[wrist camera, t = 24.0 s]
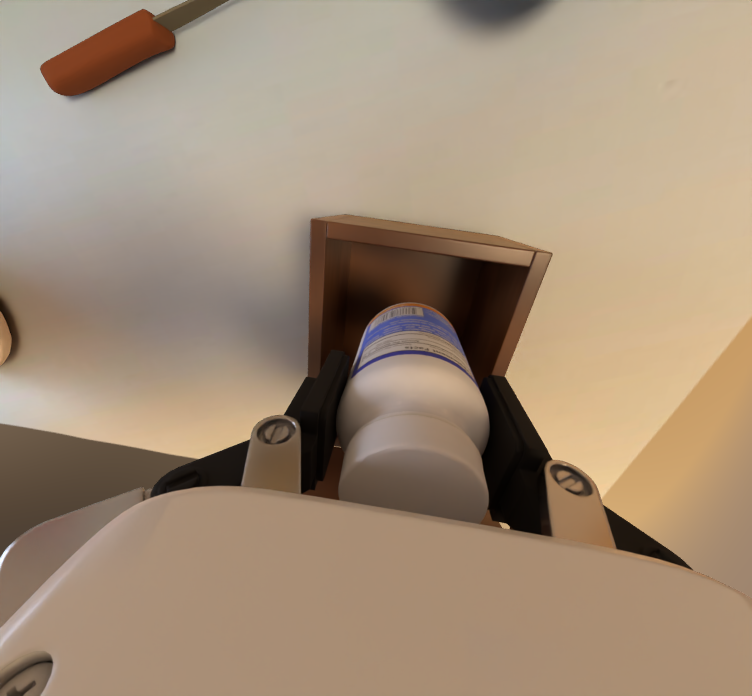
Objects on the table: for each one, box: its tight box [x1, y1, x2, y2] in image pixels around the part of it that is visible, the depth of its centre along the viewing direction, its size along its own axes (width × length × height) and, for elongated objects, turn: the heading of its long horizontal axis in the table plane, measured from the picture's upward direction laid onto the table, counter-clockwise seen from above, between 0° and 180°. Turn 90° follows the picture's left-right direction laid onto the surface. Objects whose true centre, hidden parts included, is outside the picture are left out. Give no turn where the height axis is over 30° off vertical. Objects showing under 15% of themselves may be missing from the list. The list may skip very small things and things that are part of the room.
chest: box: [308, 214, 552, 447], centre depth 21 cm, size 15×12×9 cm
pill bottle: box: [336, 302, 490, 524], centre depth 12 cm, size 5×5×10 cm
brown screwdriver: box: [40, 0, 229, 96], centre depth 17 cm, size 16×1×2 cm, turn 105°
